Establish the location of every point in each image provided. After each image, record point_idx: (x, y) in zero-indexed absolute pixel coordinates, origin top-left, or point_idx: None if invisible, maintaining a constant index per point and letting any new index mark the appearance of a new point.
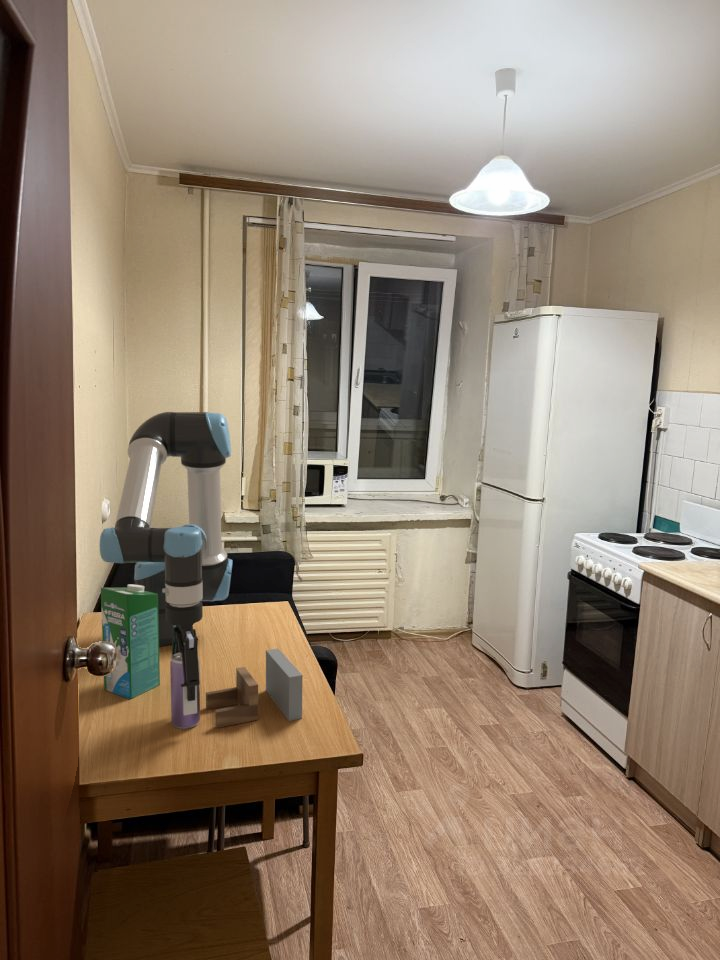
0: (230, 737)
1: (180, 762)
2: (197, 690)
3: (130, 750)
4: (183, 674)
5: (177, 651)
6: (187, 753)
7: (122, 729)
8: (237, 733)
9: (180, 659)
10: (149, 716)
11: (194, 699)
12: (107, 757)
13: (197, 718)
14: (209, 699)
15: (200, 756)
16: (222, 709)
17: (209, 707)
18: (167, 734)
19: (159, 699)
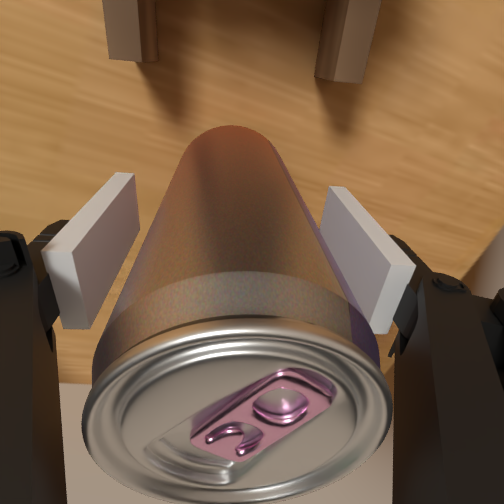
0: (431, 50)
1: (440, 248)
2: (300, 196)
3: None
4: (394, 386)
5: (61, 469)
6: (414, 222)
7: None
8: (425, 4)
9: (280, 462)
10: None
11: (396, 240)
12: None
13: (277, 152)
14: (147, 46)
15: (457, 194)
16: (350, 41)
17: (155, 47)
18: None
19: (4, 215)
